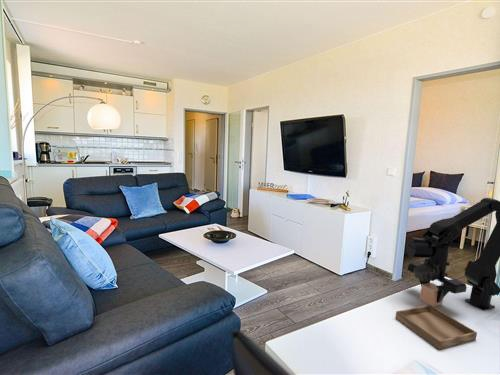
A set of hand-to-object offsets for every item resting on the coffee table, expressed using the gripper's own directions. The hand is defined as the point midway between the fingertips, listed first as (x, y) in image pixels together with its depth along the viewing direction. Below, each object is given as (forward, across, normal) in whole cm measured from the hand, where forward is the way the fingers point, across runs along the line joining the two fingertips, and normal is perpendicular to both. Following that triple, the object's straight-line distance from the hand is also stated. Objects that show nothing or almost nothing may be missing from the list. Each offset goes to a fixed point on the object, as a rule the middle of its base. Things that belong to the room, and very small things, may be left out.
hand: (431, 298), depth 104 cm
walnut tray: (+1, +12, -14) cm, 18 cm away
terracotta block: (+1, 0, 0) cm, 1 cm away
